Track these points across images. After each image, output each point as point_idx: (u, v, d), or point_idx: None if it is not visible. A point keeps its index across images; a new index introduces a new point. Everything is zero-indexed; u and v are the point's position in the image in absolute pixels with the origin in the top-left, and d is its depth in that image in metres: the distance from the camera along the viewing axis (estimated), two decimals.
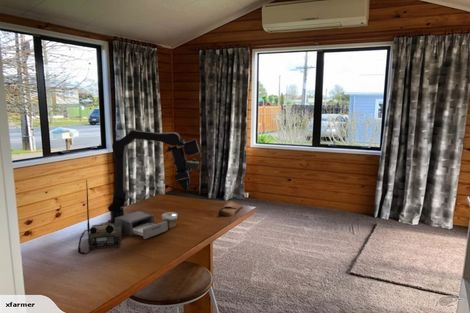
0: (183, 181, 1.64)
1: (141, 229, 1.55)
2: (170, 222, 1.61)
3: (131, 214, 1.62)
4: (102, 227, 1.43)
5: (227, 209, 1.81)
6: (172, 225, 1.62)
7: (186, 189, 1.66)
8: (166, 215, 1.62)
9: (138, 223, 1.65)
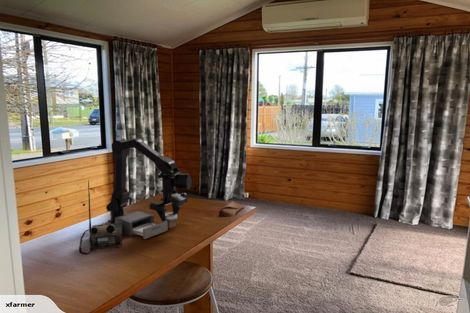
0: (161, 211, 1.59)
1: (141, 229, 1.55)
2: (170, 222, 1.61)
3: (131, 214, 1.62)
4: (103, 227, 1.43)
5: (228, 209, 1.81)
6: (172, 225, 1.62)
7: (162, 220, 1.60)
8: (166, 215, 1.62)
9: (138, 223, 1.65)
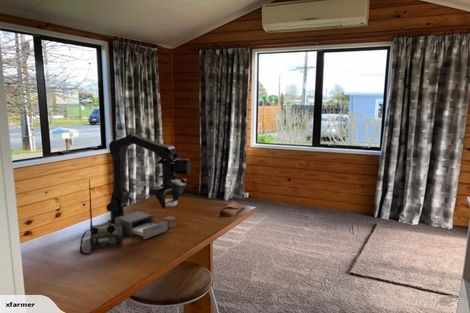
0: (160, 197, 1.58)
1: (141, 229, 1.55)
2: (170, 222, 1.61)
3: (131, 214, 1.62)
4: (103, 227, 1.43)
5: (229, 209, 1.81)
6: (172, 225, 1.62)
7: (162, 206, 1.59)
8: (165, 201, 1.61)
9: (138, 223, 1.65)
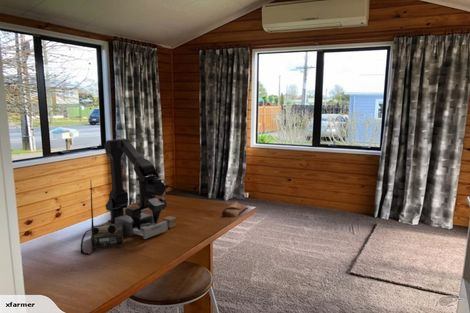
0: (135, 218, 1.49)
1: None
2: (170, 222, 1.61)
3: None
4: (104, 227, 1.43)
5: (231, 210, 1.80)
6: (172, 225, 1.62)
7: (137, 227, 1.50)
8: (143, 226, 1.53)
9: None
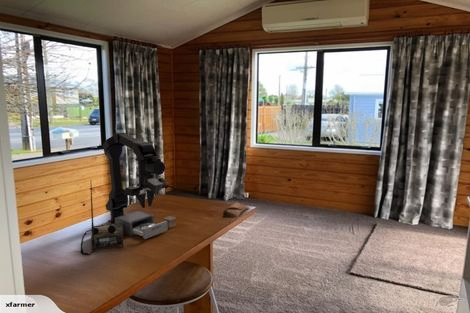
0: (140, 196, 1.50)
1: None
2: (170, 222, 1.61)
3: (131, 214, 1.62)
4: (104, 227, 1.43)
5: (232, 210, 1.80)
6: (172, 225, 1.62)
7: (142, 205, 1.51)
8: (143, 226, 1.53)
9: (138, 223, 1.65)
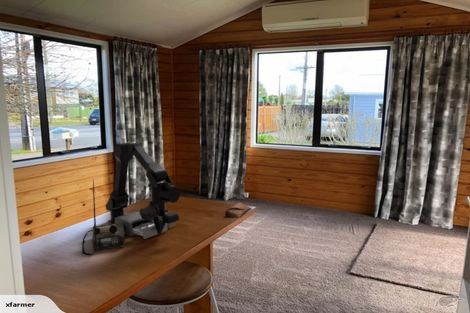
0: None
1: None
2: None
3: (131, 214, 1.62)
4: (105, 228, 1.42)
5: (234, 210, 1.79)
6: (172, 225, 1.62)
7: None
8: (143, 226, 1.53)
9: (138, 223, 1.65)
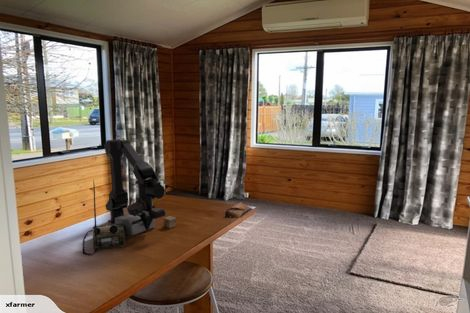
0: None
1: None
2: (170, 222, 1.61)
3: None
4: (105, 228, 1.42)
5: (234, 210, 1.79)
6: (172, 225, 1.62)
7: None
8: None
9: None
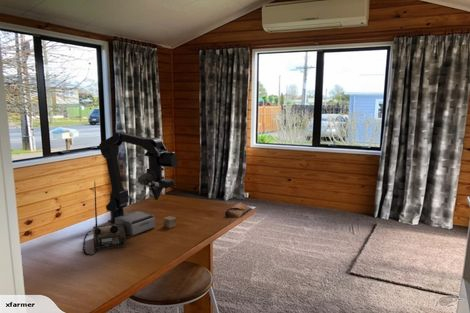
0: None
1: None
2: (170, 222, 1.61)
3: (131, 214, 1.62)
4: (106, 228, 1.42)
5: (234, 210, 1.79)
6: (172, 225, 1.62)
7: None
8: None
9: None
